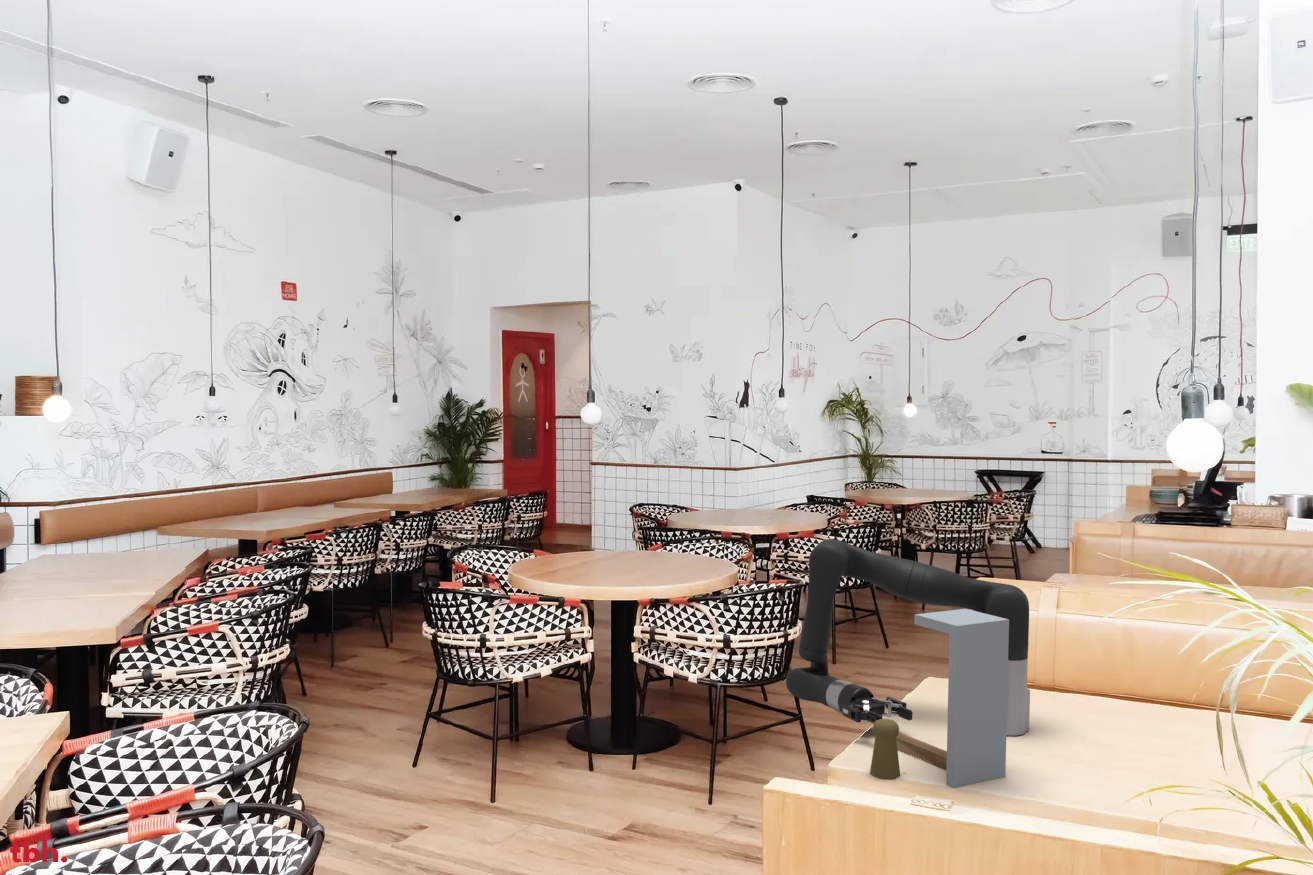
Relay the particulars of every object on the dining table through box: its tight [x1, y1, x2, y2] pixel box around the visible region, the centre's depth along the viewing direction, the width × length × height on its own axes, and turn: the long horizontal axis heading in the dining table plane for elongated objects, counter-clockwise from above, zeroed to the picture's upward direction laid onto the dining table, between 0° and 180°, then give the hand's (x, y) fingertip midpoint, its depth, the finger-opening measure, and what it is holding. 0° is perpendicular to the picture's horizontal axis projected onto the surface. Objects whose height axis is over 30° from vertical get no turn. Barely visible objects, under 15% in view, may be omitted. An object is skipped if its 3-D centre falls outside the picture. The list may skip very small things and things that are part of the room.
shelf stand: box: [914, 608, 1009, 789], centre depth 213 cm, size 14×12×32 cm
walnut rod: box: [896, 731, 947, 771], centre depth 224 cm, size 3×22×3 cm, turn 30°
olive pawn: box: [869, 718, 901, 780], centre depth 212 cm, size 6×6×11 cm
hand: (896, 718), depth 230 cm, fingers open, 8 cm apart
